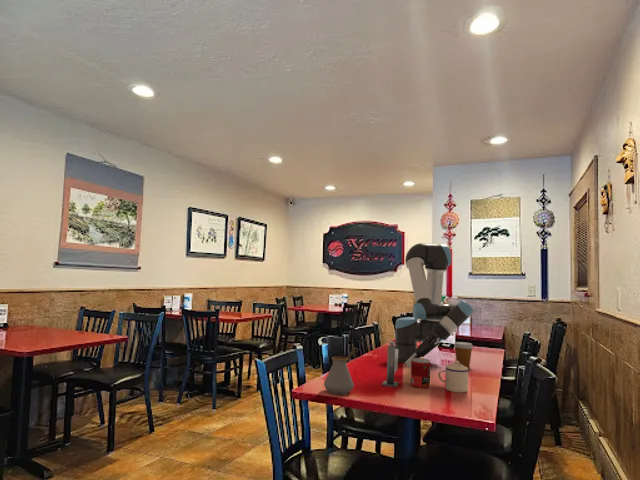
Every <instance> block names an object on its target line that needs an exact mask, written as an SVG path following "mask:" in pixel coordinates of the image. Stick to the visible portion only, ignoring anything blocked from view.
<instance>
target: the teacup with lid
mask: <svg viewBox="0 0 640 480" xmlns="http://www.w3.org/2000/svg"><path fill="white" fill-rule="evenodd" d="M441 373H445V380H444V379H443V378H442V377H441ZM468 374H469V367H465V366H463V365H462V364H459V361H456V360H454V362H453V363H451V364H448V365H446V366H445V369H441V370H439V371H438V375H437V376H438V379H439V381H441V383H445V390H446V391H449V392H454V393H460V394H462V393H467V392H468V389H469V385H468V384H469V381H468V380H469V375H468Z"/></svg>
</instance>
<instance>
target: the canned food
mask: <svg viewBox="0 0 640 480" xmlns="http://www.w3.org/2000/svg"><path fill="white" fill-rule="evenodd" d="M410 384H411V387H412V388H416V389H419V390H420V389H423V390H425V389H426V390H427V389H429V388H430V387H431V360H430V359H428V358H425V357H421V358H412V360H411V367H410Z"/></svg>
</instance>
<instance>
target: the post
mask: <svg viewBox="0 0 640 480" xmlns="http://www.w3.org/2000/svg"><path fill="white" fill-rule="evenodd" d="M386 360H387V362H386V364H387V365H386V367H387V368H386V380H383V382H382V383H381V386H382V387H393V388H397V387H398V386H399V383H400V382H399V381H395V374H394V368H395V345H394V346H392V345H387V359H386Z"/></svg>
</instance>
